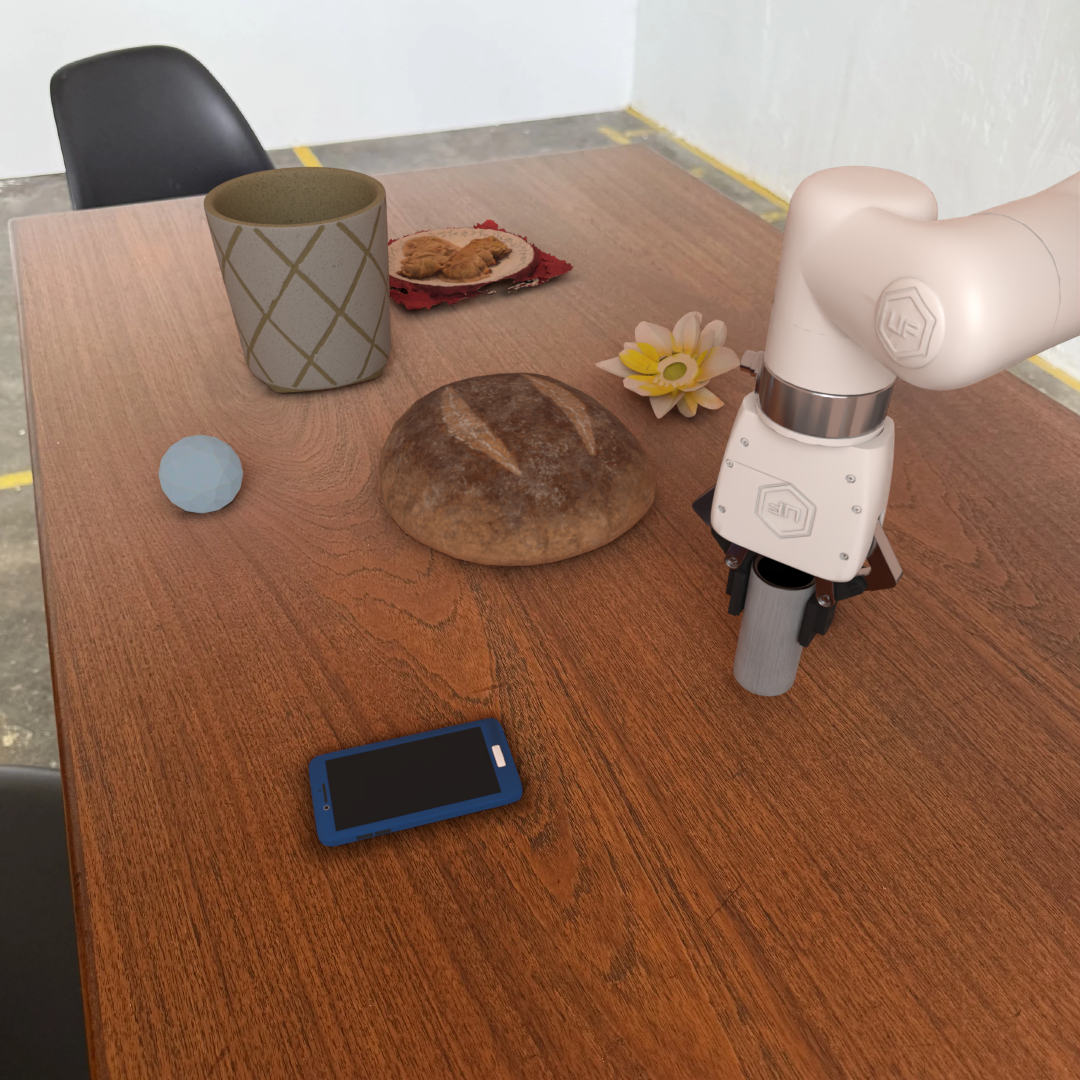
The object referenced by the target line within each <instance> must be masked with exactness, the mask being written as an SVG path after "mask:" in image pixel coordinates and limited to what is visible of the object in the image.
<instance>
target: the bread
mask: <svg viewBox="0 0 1080 1080" xmlns="http://www.w3.org/2000/svg"><path fill="white" fill-rule="evenodd" d="M378 473H379V474H378V475H379V477H378V479H379V494H380V497H381V499H382V502H383V505H384V508H385V510H386V512H387V513H388V514H389V516H390V518H391V519H392V520H393V521H394V522H395V524H397V526H398V527H399V528H400V529H401V530H402V531H403V533H404V534H406V535H408V536H409V537H411V538H413V539H414V540H416V541H417V542H419V543H421V544H423V545H425V546H427V547H429V548H431V549H433V550H434V551H437V552H439V553H442V554H444V555H447V556H449V557H451V558H454V559H457V560H462V561H465V562H470V563H474V564H478V565H482V566H483V565H484V566H495V567H496V566H498V567H530V566H538V565H539V566H540V565H545V564H553V563H557V562H561V561H564V560H567V559H571V558H575V557H578V556H580V555H584V554H587V553H590V552H592V551H595V550H597V549H599V548H602V547H603V546H605V545H608V544H610V543H611V542H613V541H615V540H616V539H618V538H619V537H621V536H622V535H623V534H624V533H626V532H628V531H629V530H630V529H632V528H633V527H634V526H635V525H637V523H638V522H639V521H640V520H642V519H643V517H645V516H646V514H648V511H649V510H650V509H651V507H652V505H653V504H654V502H655V501H654V500H655V496H656V491H657V486H656V485H657V482H656V474H655V471H654V468H653V465H652V463H651V460H650V458H649V456H648V453H647V451H646V449H645V448H644V447H643V445H642V444H641V442H640V441H639V439H638V438H637V437H636V436H635V435H634V434H633V432H632V431H631V430H630V429H629V428H628V426H627V425H626V424H625V423H624V422H623V421H622V420H621V419H620V418H619V417H617V415H615V413H613V412H612V411H611V410H610V409H609V408H607V406H605V405H604V404H603V403H601V402H600V401H599V400H597V399H596V398H594V397H592V396H591V395H589V394H588V393H585V391H583V390H580V389H579V388H576V387H574V386H573V385H570V384H567V383H565V382H563V381H561V380H559V379H556V378H553V377H551V376H548V375H545V374H540V373H532V372H500V373H493V374H486V375H485V374H484V375H477V376H472V377H467V378H464V379H461V380H460V379H459V380H457V381H456V380H455V381H452V382H449V383H447V384H444V385H441V386H439V387H437V388H436V389H434V390H432V391H430V392H429V393H427V394H425V395H423V396H422V397H420V398H419V399H417V400H415V402H413V404H412V405H411V406H410V407H409V408H408V409H406V411H405V412H403V414H402V415H401V416H400V417H399V418H398V419H397V420H396V421H395V422H394V423H393V425H392V428H391V430H390V431H389V433H388V436H387V438H386V440H385V441H384V443H383V446H382V447H381V449H380V454H379V461H378Z"/></svg>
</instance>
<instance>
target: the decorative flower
mask: <svg viewBox="0 0 1080 1080" xmlns="http://www.w3.org/2000/svg"><path fill="white" fill-rule="evenodd" d="M702 321H703V314H702V313H701V312H699V311H698V310H696V311H688V312H687V313H686V314H684V315H683V316H682V317H680V318H679V319H678V321H677V322H676V323H675V325H674V328H673V330H672V332H671V331H670V330H669V329H668V328H667V327H665V326H662V325H659V324H656V323H653V322H649V321H646V320H645V321H644V320H642V321H640V322H639V323H638V325H637V326H636V327H635V329H634V338H635V341H625V342H624V343H623V349H622V350H621V351H620V352H619V353H618V356H616V357H612V358H609V359H606V360H601V361H598V362H596V363H595V366H596V367H598V368H599V369H601V370H603V371H605V372H607V373H609V374H611V375H615V376H618V377H619V378H623V379H622V383H623V387H624V388H626V389H628V390H629V391H632V392H634V393H636V394H637V395H640V396H641V397H649V402H650V405H651V408H652V410H653V413H654V415H655V417H656V419H661V418H663V417H664V416H666V414H668V413H669V412H670V411H671V410H672V409H673V408H674V407H675V406H676V407H677V409H678V412H679V413H680V414H682V416H683V417H686V418H691V417H692V418H693V417H694V416H696V413H697V408H698V405H699V406H701V407H703V408H704V409H705V408H706V409H709V410H718V409H720V408H721V407H724V406H725V403H724V402H723V401H722V400H721V399H720V398H719V397H718V396H717V395H716V394H715V393H714V392H712V391H711V390H709V389H707V388H706V386H707V385H708V384H709V383H710V380H711V379H713V378H716V377H718V376H721V375H724V374H725V373H727V372H729V371H732V370H734V369H735V368H737V367H740V363H741V359H740V358H739V357H738V355H737V353H736V351H734V350H733V349H731V348H729V347H726V346H724V344H725V342H726V340H727V335H728V327H727V325H726V323H725V321H722V320H720V319H714V320H712V321H711V322H709V323H707V324H706V325H705V327H703V329H702V330H701V325H702Z"/></svg>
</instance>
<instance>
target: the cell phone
mask: <svg viewBox="0 0 1080 1080" xmlns="http://www.w3.org/2000/svg"><path fill="white" fill-rule="evenodd" d="M309 761H310V762H309V764H308V778H309V785H310V792H311V799H312V807H313V815H314V821H315V828H316V833H317V834H316V835H317V838H318V841H319V843H320V844H321V845H322V846H325V847H339V846H341V845H346V844H350V843H354V842H359V841H362V840H366V839H370V838H374V837H379V836H382V835H388V834H391V833H395V832H399V831H404V830H408V829H411V828H416V827H420V826H424V825H429V824H432V823H437V822H440V821H444V820H448V819H449V820H450V819H453V818H457V817H460V816H465V815H469V814H473V813H477V812H481V811H486V810H489V809H494V808H498V807H503V806H506V805H509V804H512V803H516V802H518V801H520V800H521V799H522V796H523V791H524V789H523V784H522V780H521V778H520V775H519V772H518V768H517V766H516V763H515V761H514V757H513V755H512V752H511V749H510V747H509V743H508V740H507V737H506V735H505V731H504V728H503V726H502V725H501V723H500V721H499V720H498V719H497V718H494V717H489V718H483V719H477V720H473V721H468V722H464V723H459V724H454V725H449V726H445V727H441V728H436V729H432V730H427V731H423V732H418V733H413V734H409V735H405V736H404V735H403V736H400V737H396V738H395V737H394V738H389V739H385V740H381V741H377V742H372V743H368V744H364V745H359V746H355V747H351V748H345V749H341V750H337V751H331V752H327V753H323V754H320V755H319V754H318V755H317V756H315V757H313V758H312V759H311V760H309Z"/></svg>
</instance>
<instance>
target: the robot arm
mask: <svg viewBox="0 0 1080 1080" xmlns="http://www.w3.org/2000/svg"><path fill="white" fill-rule="evenodd" d="M938 218H939V206H938V202H937V197H936V196H935V194H934V192H933V191H932V190H931V189H930V188H929V186H928V185H926V184H925V183H924V182H923V181H921V179H918V178H916V177H914V176H911V175H908V174H906V173H904V172H901V171H897V170H893V169H889V168H883V167H876V166H869V165H868V166H867V165H844V166H836V167H835V166H834V167H829V168H823V169H821V170H817V171H815V172H813V173H812V174H810V175H808V176H807V177H805V178H804V179H803V180H802V181H800V183H799V184H798V185H797V187H796V188H795V190H794V192H793V193H792V195H791V198H790V201H789V205H788V209H787V214H786V220H785V226H784V232H783V236H782V237H783V238H782V243H781V244H782V245H781V249H780V250H781V251H780V256H779V261H778V262H779V263H778V269H777V273H776V274H777V275H776V280H775V285H774V286H775V287H774V293H773V299H772V303H771V304H772V305H771V311H770V315H769V316H770V317H769V323H768V329H767V335H766V342H765V346H764V347H765V348H764V351H763V350H758V351H754V350H751V349H747V350H745V351H744V352H743V354H742V357H741V359H740V365H739V370H740V371H741V372H744V373H747V374H749V375H750V377H753V378H754V381H755V387H754V390H752V391H751V392H749V393H748V394H747V395H745V396H744V398H743V399H742V402H741V403H740V406H739V408H738V411H737V413H736V416H735V418H734V422H733V424H732V427H731V430H730V433H729V436H728V439H727V443H726V446H725V449H724V453H723V455H722V460H721V464H720V468H719V472H718V475H717V480H716V482H715V483H714V484H713V485H711V486H710V487H709V488H707V489H705V490H704V491H703V492H701V493H700V494H699V495H698V496H697V497H696V498H695V499H694V501H693V502H691V509H692V510H693V511H694V512H695V514H696V515H697V516H698V517H699V518H700V520H701V521H702V522H703V523H704V524H705V525H706V527H709V528H710V533H711V535H712V537H713V539H714V540H715V542H716V543H717V544H718V546H719V547H720V549H721V551H722V552H723V553H724V555H725V556H724V558H723V561H724V564H725V565H726V566H727V567H728V568H729V569H728V575H727V581H726V586H725V587H726V588H725V594H726V595H727V596H730V597H729V603H728V608H727V614H728V615H730V616H732V617H736V616H737V617H739V616H740V615H741V613H743V610H744V604H745V599H746V593H747V588H748V582H749V577H750V572H751V566H752V562H753V560H754V558H755V557H756V556H757V555H758V554H761V555H764V556H766V557H769V558H771V559H774V560H776V561H779V562H781V563H784V564H786V565H789V566H791V567H794V568H796V569H799V570H801V571H804V572H806V573H809V574H811V575H814V576H815V589H816V590H815V592H814V593H813V594H812V596H811V597H810V598H809V600H808V601H807V603H806V606H805V611H804V615H803V619H802V623H801V628H800V632H799V636H798V640H797V642H799V645H801V646H803V648H806V649H807V648H808V647H809V646H810V644H811V643H812V641H814V639H815V637H816V636H817V634H818V635H820V636H823V637H824V636H825V635H826V634H827V632H828V631H829V629H830V627H831V625H832V623H833V620H834V616H835V612H836V609H837V604H838V602H840V601H843V600H846V599H850V598H854V597H857V596H860V595H862V594H863V593H864V592H876V591H882V590H889V589H890V590H891V589H893V588H895V587H896V586H897V585H898V583H899V582H900V580H901V579H902V577H903V575H904V571H903V569H902V566H901V563H900V562H899V560H898V558H897V556H896V554H895V551H894V549H893V547H892V545H891V543H890V541H889V538H888V536H887V535H886V532H885V530H884V528H883V526H884V522H885V517H886V512H887V508H888V502H889V497H890V491H891V485H892V479H893V478H892V477H893V469H894V457H895V440H896V439H895V438H896V435H895V434H896V433H895V431H896V430H895V421H894V419H893V418H892V417H890V416H888V412H889V408H890V404H891V401H892V397H893V393H894V389H895V385H896V382H897V378H898V379H901V380H902V381H903V382H906V383H907V384H910V385H912V386H914V387H916V388H920V389H924V390H928V391H934V392H935V391H938V392H947V391H953V390H959V389H963V388H966V387H969V386H972V385H973V386H974V385H975V384H977V383H980V382H982V381H984V380H986V379H988V378H991V377H992V376H995V375H997V374H999V373H1001V372H1004V371H1006V370H1008V369H1010V368H1012V367H1015V366H1016V365H1019V364H1021V363H1022V362H1024V361H1026V360H1028V359H1030V358H1032V357H1034V356H1037V355H1039V354H1042V353H1043V352H1045V351H1048V350H1050V349H1052V348H1054V347H1056V346H1058V345H1060V344H1063V343H1065V342H1068V341H1071V340H1072V339H1076V338H1077V337H1080V170H1079V171H1076V172H1075V173H1073V174H1072V175H1069V176H1068V177H1066V178H1064V179H1062V180H1061V181H1059V182H1057V183H1054V184H1052V185H1051V186H1049V187H1047V188H1045V189H1043V190H1041V191H1038V192H1036V193H1034V194H1031V195H1027V196H1025V197H1022V198H1018V199H1014V200H1011V201H1008V202H1005V203H1002V204H999V205H996V206H993V207H990V208H987V209H983V210H981V211H977V212H974V213H973V214H968V215H966V216H965V215H964V216H958V217H950V218H944V219H938ZM866 560H867V563H868V565H869V566H865V565H864V563H865V561H866Z"/></svg>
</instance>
